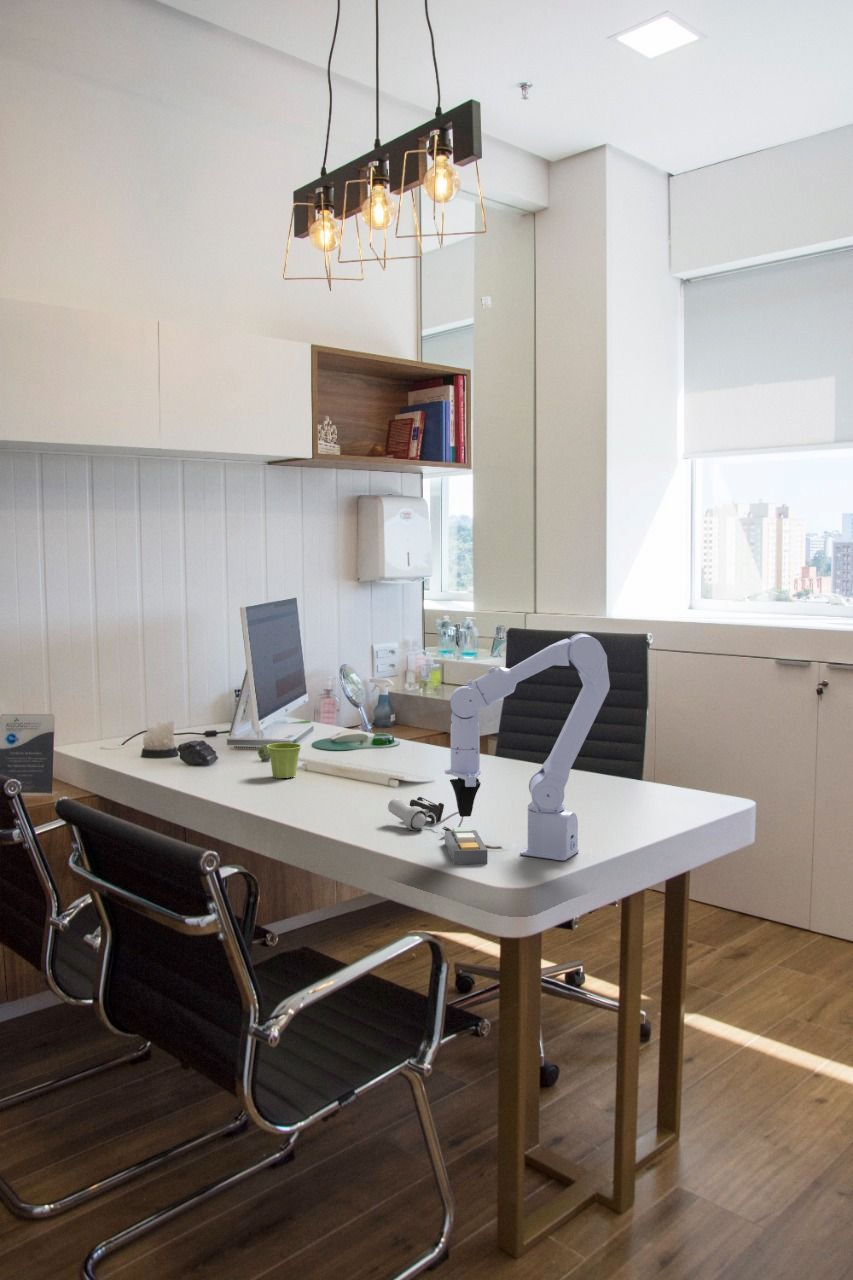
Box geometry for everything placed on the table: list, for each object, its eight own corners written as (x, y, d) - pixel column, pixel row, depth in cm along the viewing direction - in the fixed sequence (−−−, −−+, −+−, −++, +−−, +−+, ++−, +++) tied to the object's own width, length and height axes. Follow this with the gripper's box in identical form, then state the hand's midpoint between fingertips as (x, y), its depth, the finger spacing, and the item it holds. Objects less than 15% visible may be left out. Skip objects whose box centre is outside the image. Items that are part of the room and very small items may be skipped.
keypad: (444, 843, 215) (444, 831, 215) (475, 842, 216) (475, 830, 216) (454, 864, 200) (454, 850, 200) (487, 863, 201) (487, 849, 201)
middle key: (455, 842, 209) (455, 833, 209) (472, 841, 210) (472, 832, 210) (458, 846, 206) (457, 837, 206) (475, 846, 206) (475, 837, 206)
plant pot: (306, 774, 289) (305, 743, 288) (296, 781, 280) (295, 748, 279) (273, 773, 290) (273, 742, 290) (262, 780, 281) (261, 747, 281)
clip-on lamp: (472, 844, 227) (418, 811, 240) (479, 816, 226) (425, 785, 239) (432, 849, 219) (379, 815, 232) (439, 820, 218) (385, 787, 231)
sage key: (452, 835, 214) (452, 827, 214) (469, 835, 215) (469, 826, 215) (454, 840, 211) (454, 831, 211) (471, 839, 211) (471, 830, 211)
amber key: (459, 851, 205) (459, 842, 204) (476, 851, 205) (476, 842, 205) (461, 856, 201) (461, 847, 201) (478, 856, 201) (478, 846, 201)
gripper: (440, 742, 214) (440, 808, 215) (450, 754, 199) (450, 825, 200) (474, 741, 214) (474, 807, 215) (486, 753, 200) (486, 824, 201)
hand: (465, 815), depth 208 cm, fingers closed
